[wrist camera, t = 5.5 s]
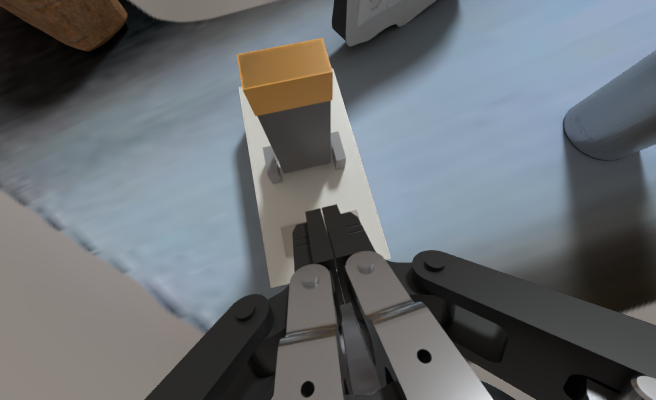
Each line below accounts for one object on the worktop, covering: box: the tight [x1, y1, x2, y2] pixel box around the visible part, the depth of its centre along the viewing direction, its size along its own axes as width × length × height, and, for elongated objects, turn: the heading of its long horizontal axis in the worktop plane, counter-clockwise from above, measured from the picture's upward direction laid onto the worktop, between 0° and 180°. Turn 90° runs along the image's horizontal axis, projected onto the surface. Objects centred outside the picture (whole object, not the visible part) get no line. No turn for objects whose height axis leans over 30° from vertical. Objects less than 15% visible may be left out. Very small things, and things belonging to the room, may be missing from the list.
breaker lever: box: [237, 38, 333, 173], centre depth 21 cm, size 5×3×13 cm, turn 103°
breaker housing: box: [239, 68, 391, 288], centre depth 29 cm, size 12×24×8 cm, turn 13°
